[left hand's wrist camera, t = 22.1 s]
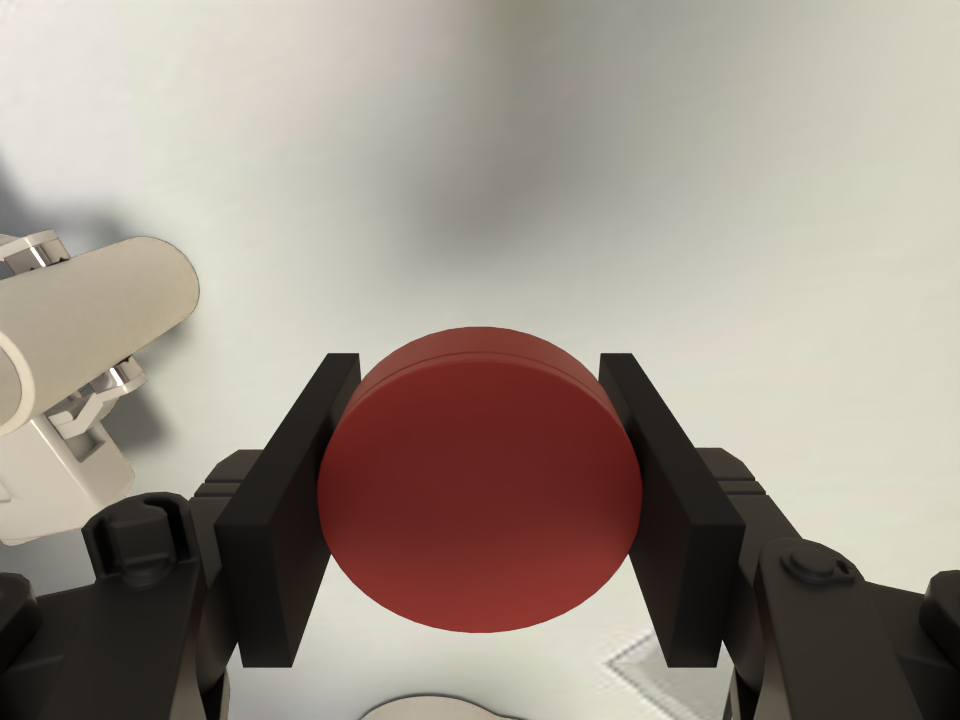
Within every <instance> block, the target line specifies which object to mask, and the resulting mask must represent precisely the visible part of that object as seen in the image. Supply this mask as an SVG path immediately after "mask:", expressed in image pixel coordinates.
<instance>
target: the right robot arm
mask: <svg viewBox="0 0 960 720" xmlns="http://www.w3.org/2000/svg"><path fill="white" fill-rule="evenodd" d="M69 258H71V257H70V256H69V254H68V252H67V251H66V249H65V248H64V246H63V244H62V243H61V241H60V239H58V237H57V235H56V234H55V232H54V230H53V229H50V230H46V231H41V232H37V233H34V234H31V235H28V236H25V237H22V238H20V237H15V236H9V235H4V234H0V261H4V262H5V261H6V263H7V264H8V265H9V267H10V268H11V270H12V271H13V272H14V274H15V275H19V274H22V273H25V272H28V271H31V270H34V269H38V268H41V267H45V266H48V265H51V264H54V263H57V262H60V261H63V260H66V259H69ZM0 280H1V279H0ZM147 380H148V378H147V376H146V375H145V373H144V371H143V370H142V369H141V367H140V366H139V364H138V363H137V361H136V360H135V358H134V357H133V355H130V356H128V357H127V358H125V359H124V360H122V361H121V362H119V363H118V364H116V365H115V366H113V367H112V368H110V369H109V370H107V371H105V372H104V373H102V374H101V375H99V376H98V377H96V378H95V379H93V380H92V381H90V382H89V384H90V385H91V387H92V388H93V390H94V393H90V394H87V395H84V396H81V394H80V393H79V391H78V390H77V391H75V392H74V393H72V394H70V395H69V396H67V397H66V398H64V399H63V400H61V401H60V402H58V403H57V404H55V405H54V406H52V407H51V408H49V409H48V410H46V411H45V412H43V413H42V414H40V415H39V416H37V417H35V418H34V419H32V420H31V421H29V422H28V423H26V424H25V425H23V426H22V427H20V428H19V429H17V430H15V431H14V432H12V433H10V434H7V435H5V436H1V437H0V541H2V543H3V544H5V545H9V546H14V545H20V544H23V543H26V542H29V541H32V540H35V539H38V538H40V537H43V536H47V535H52V534H58V533H63V532H67V531H72V530H76V529H80V528H83V526H84V525H85V524H86V523H87V522H88V520H89V519H90V518H91V517H92V516H94V515H95V514H97V513H98V512H100V511H101V510H103V509H104V508H106V507H107V506H109V505H111V504H114V503H116V502H118V501H121V500H123V499H124V497H125V496H126V495H127V494H128V492H129V490H130V488H131V485H132V483H133V481H134V478H135V474H134V471H133V469H132V468H131V466H130V465H129V463H128V462H127V460H126V459H125V458H124V456H123V455H122V453H121V452H120V450H119V449H118V448H117V446H116V445H115V443H114V442H113V440H112V439H111V438H110V436H109V435H108V433H107V432H106V430H105V429H104V427H103V426H102V425H101V423H100V422H99V421H100V420H101V419H103V418H104V417H105V416H106V415H108V414H109V413H110V411H111V410H112V408H113V406H114V405H115V403H116V402H117V400H118V399H119V397H120V396H122V395H125V394H128V393H130V392H132V391H133V390H135V389H137V388H138V387H140V386H141V385H142V384H143V383H145V382H146V381H147ZM361 720H516V719H509V718H503V717H499V716H497V715H494V714H492V713H490V712H488V711H486V710H484V709H482V708H480V707H478V706H476V705H474V704H471V703H468V702H465V701H461V700H457V699H453V698H447V697H437V696H420V697H410V698H405V699H400V700H396V701H393V702H390V703H387V704H385V705H382V706H380V707H378V708H376V709H374V710H373V711H371V712H370V713H368V714H367V715H366V716H364V717H363V718H362V719H361Z"/></svg>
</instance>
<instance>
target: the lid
mask: <svg viewBox="0 0 960 720" xmlns="http://www.w3.org/2000/svg"><path fill="white" fill-rule="evenodd" d="M642 495H643V481H642V476H641V471H640V466H639V462H638V460H637V457H636V454H635V452H634V449H633V446H632V444H631V442H630V440H629V438H628V436H627V434H626V432H625V430H624V427H623V425H622V423H621V421H620V419H619V417H618V415H617V413H616V411H615V409H614V407H613V405H612V403H611V401H610V399H609V397H608V395H607V394H606V392H605V390H604V388H603V387H602V386H601V385H600V383H599V382H598V381H597V379H596V378H595V377H594V375H593V374H592V373H591V372H590V371H589V370H588V369H587V368H586V367H585V366H584V365H583V364H581V363H580V362H579V361H578V360H577V359H575V358H574V357H573V356H571V355H570V354H568V353H567V352H566V351H564V350H562V349H561V348H559V347H557V346H555V345H553V344H552V343H550V342H548V341H546V340H543V339H540V338H538V337H535V336H533V335H530V334H527V333H523V332H519V331H515V330H511V329H504V328H496V327H464V328H456V329H448V330H445V331H441V332H437V333H433V334H429V335H427V336H424V337H422V338H419V339H417V340H414V341H412V342H410V343H408V344H406V345H404V346H402V347H401V348H399V349H397V350H395V351H394V352H392V353H391V354H390V355H388V356H387V357H386V358H384V359H383V360H382V361H380V362H379V363H378V364H377V365H376V366H375V367H374V368H373V369H372V370H371V371H370V372H369V373H368V374H367V375H366V376H365V377H364V379H363V380H362V381H361V383H360V384H359V385H358V387H357V388H356V389H355V391H354V393H353V394H352V396H351V398H350V400H349V402H348V404H347V406H346V408H345V410H344V412H343V414H342V416H341V418H340V420H339V422H338V424H337V427H336V429H335V431H334V433H333V435H332V437H331V439H330V441H329V443H328V445H327V447H326V450H325V453H324V456H323V459H322V461H321V464H320V468H319V474H318V479H317V499H318V508H319V516H320V523H321V530H322V533H323V537H324V539H325V541H326V543H327V546H328V548H329V550H330V552H331V554H332V556H333V557H334V559H335V560H336V562H337V563H338V565H339V567H340V568H341V569H342V571H343V572H344V573H345V574H346V575H347V576H348V578H349V579H350V580H351V581H352V582H353V583H354V584H355V585H356V586H357V587H358V588H359V589H360V590H361V591H363V592H364V593H365V594H366V595H367V596H369V597H370V598H371V599H373V600H374V601H376V602H377V603H378V604H380V605H381V606H383V607H385V608H387V609H388V610H390V611H392V612H394V613H396V614H397V615H400V616H402V617H404V618H407V619H409V620H412V621H414V622H417V623H420V624H423V625H427V626H430V627H434V628H439V629H444V630H449V631H456V632H467V633H493V632H503V631H511V630H516V629H521V628H525V627H530V626H533V625H536V624H539V623H542V622H545V621H548V620H550V619H553V618H555V617H557V616H560V615H562V614H564V613H566V612H567V611H569V610H571V609H573V608H575V607H576V606H578V605H580V604H581V603H583V602H584V601H585V600H587V599H588V598H589V597H591V596H592V595H593V594H595V593H596V592H597V591H598V590H599V589H600V588H601V587H602V586H603V585H604V584H606V583H607V582H608V581H609V579H610V578H611V577H612V576H613V575H614V573H615V572H616V571H617V570H618V569H619V567H620V566H621V564H622V563H623V561H624V559H625V558H626V556H627V555H628V553H629V551H630V549H631V547H632V544H633V542H634V540H635V538H636V535H637V531H638V527H639V520H640V512H641V504H642Z"/></svg>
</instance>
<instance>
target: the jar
mask: <svg viewBox="0 0 960 720" xmlns="http://www.w3.org/2000/svg"><path fill="white" fill-rule="evenodd" d="M198 296H199V285H198V280H197V276H196V274H195V271H194V269H193V267H192V266H191V264H190V263H189V261H188V260H187V259H186V257H185V256H184V255H183V254H182V253H181V252H179V251H178V250H177V249H176V248H174V247H173V246H171V245H170V244H168V243H166V242H164V241H161V240H158V239H155V238H150V237H135V238H131V239H127V240H124V241H121V242H118V243H115V244H112V245H109V246H106V247H102V248H99V249H96V250H93V251H90V252H87V253H84V254H81V255H78V256H75V257H71V258H69V259H66V260H63V261H60V262H57V263H54V264H51V265H48V266H45V267H41V268H38V269H34V270H31V271H28V272H25V273H22V274H19V275H16V276H13V277H10V278H6V279H3V280H0V437H1V436H5V435H7V434H10V433H12V432H14V431H15V430H17V429H19V428H20V427H22V426H23V425H25V424H26V423H28V422H29V421H31V420H32V419H34V418H35V417H37V416H39V415H40V414H42V413H43V412H45V411H46V410H48V409H49V408H51V407H52V406H54V405H55V404H57V403H58V402H60V401H61V400H63V399H64V398H66V397H67V396H69V395H70V394H72V393H74V392H75V391H77V390H78V389H80V388H81V387H83V386H84V385H86V384H87V383H89V382H90V381H92V380H93V379H95V378H96V377H98V376H99V375H101V374H102V373H104V372H105V371H107V370H109V369H110V368H112V367H113V366H115V365H116V364H118V363H119V362H121V361H122V360H124V359H125V358H127V357H128V356H130V355H131V354H133V353H134V352H136V351H137V350H139V349H140V348H142V347H144V346H145V345H147V344H148V343H150V342H151V341H153V340H154V339H156V338H157V337H159V336H160V335H162V334H163V333H165V332H166V331H168V330H169V329H171V328H172V327H174V326H175V325H177V324H179V323H180V322H182V321H183V320H185V319H186V318H187V317H188V316H189V315H190V314H191V313H192V312H193V310H194V308H195V306H196V304H197V301H198Z"/></svg>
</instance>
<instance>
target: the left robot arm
mask: <svg viewBox="0 0 960 720" xmlns="http://www.w3.org/2000/svg"><path fill="white" fill-rule="evenodd" d="M598 382H599V383H600V385H601V386H602V387H603V388H604V390H605V392H606V394H607V395H608V397H609V399H610V401H611V403H612V405H613V407H614V409H615V411H616V413H617V415H618V417H619V419H620V421H621V423H622V425H623V427H624V430H625V432H626V434H627V436H628V438H629V440H630V442H631V444H632V446H633V449H634V452H635V454H636V457H637V460H638V462H639V466H640V471H641V476H642V481H643V495H642V504H641V512H640V520H639V527H638V531H637V535H636V538H635V540H634V542H633V544H632V547H631V549H630V551H629V553H628V554H629V557H630V559H631V562H632V565H633V568H634V571H635V574H636V577H637V580H638V582H639V585H640V588H641V591H642V594H643V597H644V600H645V603H646V605H647V608H648V611H649V614H650V617H651V620H652V623H653V626H654V629H655V631H656V634H657V637H658V640H659V643H660V646H661V649H662V652H663V654H664V657H665V660H666V663H667V666H668V668H716V667H717V662H718V657H719V653H720V648H721V643H722V640H723V642H724V644H725V646H726V648H727V650H728V653H729V655H730V657H731V659H732V661H733V663H734V669H733V673H732V678H731V682H730V686H729V691H728V695H727V700H726V704H725V709H724V714H723V720H731V718H732V717H733V720H960V570H950V571H941V572H939V573H938V574H936V575H935V576H934V577H932V578H931V580H930V582H929V585H928V588H927V591H926V593H925V595H924V594H919V593H915V592H910V591H906V590H901V589H896V588H892V587H887V586H883V585H878V584H874V583H871V582H867V581H865V580H864V577H863V576H862V575H861V573H860V572H859V570H858V569H857V568H856V566H855V565H854V564H853V563H852V562H850V561H849V560H848V559H846V558H845V557H844V556H843V555H841V554H840V553H839V552H837V551H834V550H832V549H830V548H828V547H826V546H824V545H822V544H820V543H816V542H813V541H809V540H806V539H802V537H801V536H800V535H799V534H798V532H797V531H796V530H795V528H794V527H793V526H792V525H791V523H790V522H789V521H788V519H787V518H786V517H785V516H784V514H783V513H782V512H781V510H780V509H779V508H778V507H777V505H776V504H775V503H774V502H773V500H772V499H771V498H770V496H769V495H766V491H765V490H764V489H763V487H762V486H761V485H760V484H759V482H758V481H755V477H754V476H753V475H752V473H751V472H750V471H749V470H748V468H747V467H746V466H745V464H744V463H743V462H742V461H740V460H739V459H737V458H736V457H734V456H733V455H731V454H730V453H728V452H727V451H725V450H724V449H722V448H695V447H694V446H693V444H692V443H691V441H690V440H689V438H688V437H687V435H686V434H685V432H684V431H683V429H682V428H681V426H680V425H679V423H678V422H677V420H676V419H675V417H674V416H673V414H672V413H671V411H670V410H669V408H668V407H667V405H666V404H665V402H664V401H663V399H662V398H661V396H660V395H659V393H658V392H657V390H656V389H655V387H654V386H653V384H652V383H651V381H650V380H649V378H648V377H647V375H646V374H645V372H644V371H643V369H642V368H641V366H640V365H639V363H638V362H637V360H636V359H635V357H634V356H633V355H632V353H601V356H600V368H599V380H598ZM360 383H361V372H360V360H359V353H328V354H327V355H326V357H325V358H324V360H323V361H322V363H321V364H320V366H319V367H318V369H317V370H316V372H315V373H314V375H313V376H312V378H311V379H310V381H309V382H308V384H307V385H306V387H305V388H304V390H303V391H302V393H301V394H300V396H299V397H298V399H297V400H296V402H295V403H294V405H293V406H292V408H291V409H290V411H289V412H288V414H287V415H286V417H285V418H284V420H283V421H282V423H281V424H280V426H279V427H278V429H277V430H276V432H275V433H274V435H273V436H272V438H271V439H270V441H269V442H268V444H267V445H266V447H265V448H264V450H238V451H236V452H235V453H233V454H232V455H230V456H228V457H227V458H225V459H224V460H222V461H221V462H219V463H218V464H217V465H216V466H215V468H214V469H213V470H212V472H211V473H210V474H209V475H208V477H207V478H206V479H205V483H202V484H201V486H200V487H199V488H198V490H197V491H196V492H195V493H194V497H191V499H190V500H189V501H188V500H186V499H185V498H184V497H182V496H181V495H179V494H174V493H169V492H153V493H144V494H140V495H136V496H132V497H128V498H125V499H123V500H121V501H118V502H116V503H114V504H111V505H109V506H107V507H106V508H104V509H103V510H101V511H100V512H98V513H97V514H95V515H94V516H92V517H91V518H90V519H89V520H88V522H87V523H86V524H85V525H84V526H83V528H82V529H81V531H82V534H83V538H84V541H85V544H86V547H87V550H88V553H89V557H90V560H91V563H92V566H93V569H94V572H95V576H96V581H95V583H94V584H91V585H87V586H84V587H79V588H75V589H70V590H66V591H61V592H57V593H52V594H47V595H43V596H38V597H35V595H34V592H33V589H32V587H31V584H30V581H29V580H27V579H26V578H25V577H23V576H22V575H21V574H14V573H5V572H3V573H0V720H227V719H228V709H229V699H230V684H229V678H228V673H227V669H226V665H227V663H228V661H229V659H230V657H231V655H232V653H233V651H234V648H235V646H236V644H237V642H238V645H239V650H240V654H241V659H242V664H243V668H292V665H293V662H294V659H295V656H296V653H297V651H298V648H299V645H300V642H301V639H302V636H303V633H304V630H305V628H306V625H307V622H308V619H309V616H310V613H311V610H312V607H313V604H314V602H315V599H316V596H317V593H318V590H319V587H320V584H321V581H322V579H323V576H324V573H325V570H326V567H327V564H328V561H329V558H330V556H331V552H330V550H329V548H328V546H327V543H326V541H325V539H324V537H323V533H322V530H321V523H320V516H319V508H318V499H317V479H318V474H319V468H320V464H321V461H322V459H323V456H324V453H325V450H326V447H327V445H328V443H329V441H330V439H331V437H332V435H333V433H334V431H335V429H336V427H337V424H338V422H339V420H340V418H341V416H342V414H343V412H344V410H345V408H346V406H347V404H348V402H349V400H350V398H351V396H352V394H353V393H354V391H355V389H356V388H357V387H358V385H359V384H360Z"/></svg>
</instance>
